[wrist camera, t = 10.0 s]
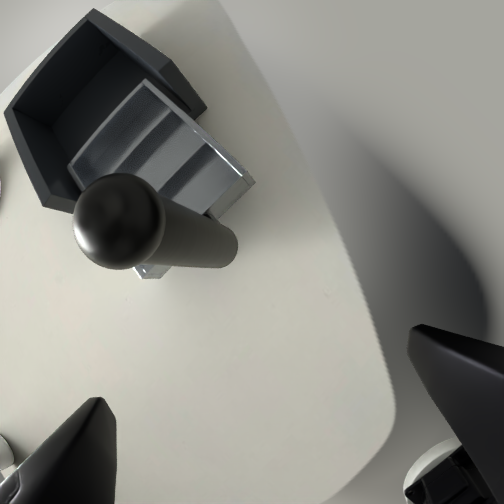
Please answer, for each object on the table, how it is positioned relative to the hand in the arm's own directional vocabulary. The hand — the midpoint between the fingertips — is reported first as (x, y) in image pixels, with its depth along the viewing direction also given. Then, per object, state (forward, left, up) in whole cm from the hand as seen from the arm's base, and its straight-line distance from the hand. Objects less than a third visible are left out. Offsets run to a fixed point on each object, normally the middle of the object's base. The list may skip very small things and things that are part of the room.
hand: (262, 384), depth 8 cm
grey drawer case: (+20, 0, -10) cm, 23 cm away
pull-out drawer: (+11, 0, -9) cm, 14 cm away
